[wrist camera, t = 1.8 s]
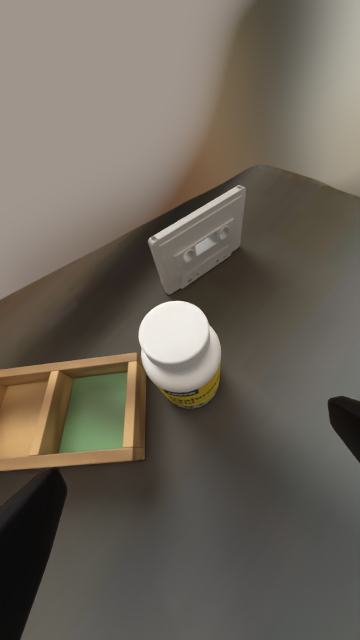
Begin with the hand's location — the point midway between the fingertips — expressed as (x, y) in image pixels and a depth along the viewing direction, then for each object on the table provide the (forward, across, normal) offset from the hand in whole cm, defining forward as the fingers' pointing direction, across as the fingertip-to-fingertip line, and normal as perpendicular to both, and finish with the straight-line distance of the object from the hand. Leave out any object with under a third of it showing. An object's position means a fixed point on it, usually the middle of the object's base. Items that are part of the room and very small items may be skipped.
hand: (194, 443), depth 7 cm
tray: (+12, +12, +5) cm, 18 cm away
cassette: (+22, -5, -5) cm, 23 cm away
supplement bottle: (+13, 0, +4) cm, 13 cm away
